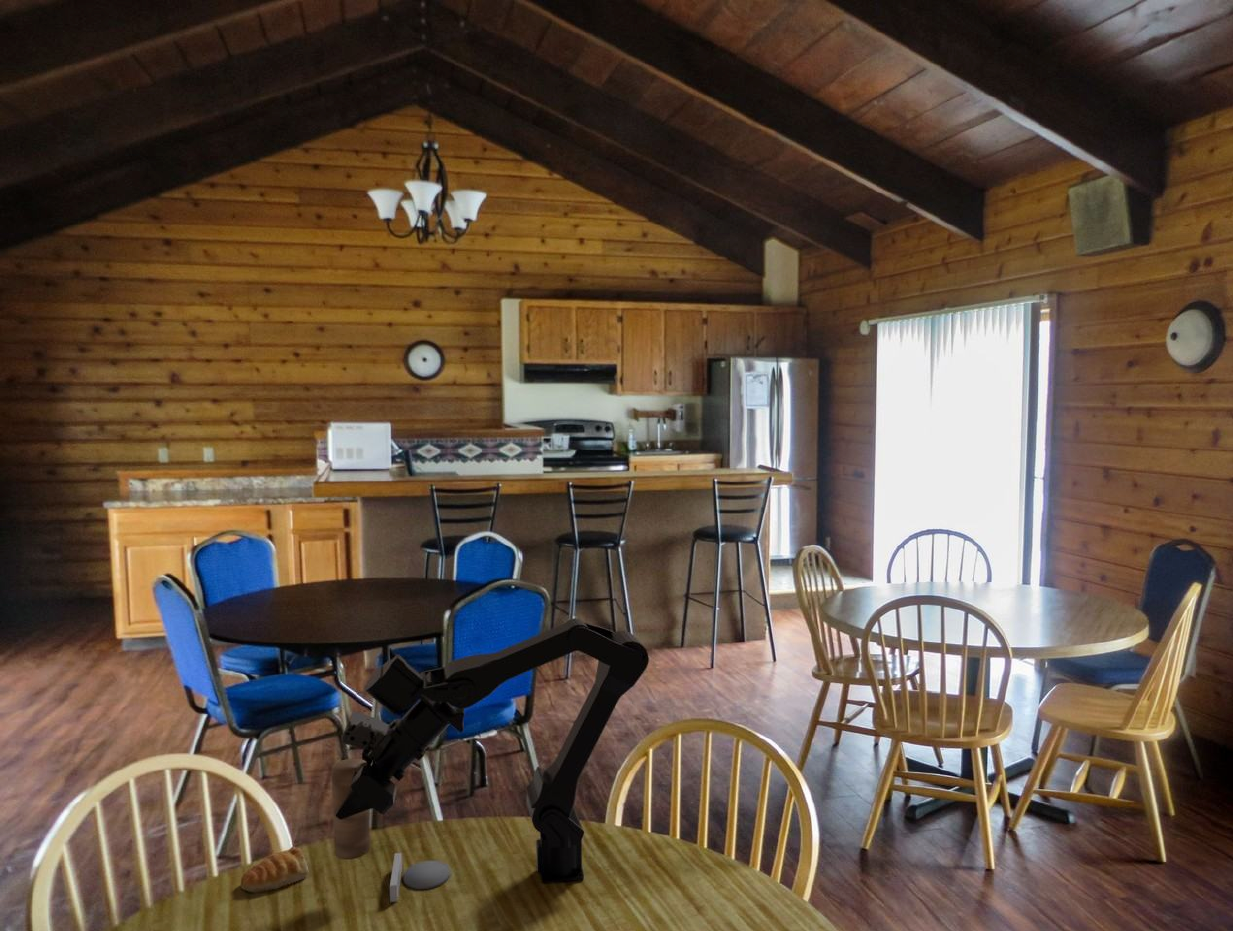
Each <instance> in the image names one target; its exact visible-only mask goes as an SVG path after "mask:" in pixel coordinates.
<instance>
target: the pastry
mask: <svg viewBox="0 0 1233 931" xmlns="http://www.w3.org/2000/svg"><path fill="white" fill-rule="evenodd" d="M308 874H309V867H308V862H307V860H306V858H305V856H304V853H303V851H302V849H300V847H295V846H291V847H290V849H287V850H286V849H285V850H283V851H279V852H278V851H277V852H276V853H271V854H270V855H268V856H267V857H266V858H265V859H263V860H262V861H261V862H259V863H257V864H255V865H253V866H252V867H251V868H249V869H248V870H247V871H246V872H245V873H243V874H242V877H241V881H240V887H241V889H242V890H243V891H247V892H249V893H260V892H264V890H265V891H271V890H272V889H273V890H278V889H280V888H281V886H283V887H285V886H284V885H286V886H288V885H287V884H289V883H292V884H294V883H293V882H295V883H297V882H299V881H298V880H300V881H302V880H304V879H306V878H307V876H308ZM301 879H302V880H301ZM296 881H297V882H296ZM289 885H290V884H289ZM277 888H278V889H277ZM270 889H271V890H270Z"/></svg>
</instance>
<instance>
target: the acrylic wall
mask: <svg viewBox="0 0 1233 931" xmlns="http://www.w3.org/2000/svg"><path fill="white" fill-rule="evenodd" d="M402 868H403V860H402V852H395V853H394V856H393V863H392V868H391V869H392V870H391V877H390V884H389V902H390V903H395V902H398V899H399V893H400V892H399V891H400V884H401V876H402V870H403V869H402Z"/></svg>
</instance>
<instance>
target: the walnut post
mask: <svg viewBox="0 0 1233 931" xmlns="http://www.w3.org/2000/svg"><path fill="white" fill-rule="evenodd" d="M363 766H367V762H366V761H365V760H362V758H347V759H343V760H340V761H337V762H335V763H334V764H333V765H332V766H331V785H332V786H331V789H332V793H331V794H332V817H333V818H332V820H333V842H334V843H333V844H334V845H333V846H334V856H335V857H336V858H338V859H340V860H355V859H358V858H361V857H363V856H365V855H366V854H368V853H369V852H370V849H371V846H370V845H371V843H370V837H371V836H370V813H369V811H370V809H369V810H366V811H363V812H360V813H358V814H355V815H352V816H350V817H347V818H344V819H342V820H340V819H339V818H337V817H336V813H337V811H338V810H339V808H340V807H341V805H342V804H343V802H344V801H345V800H346V798H347V797H348V795H349V794H350V792H351V791H352V788H351V783H352V779H353V776H354V773H355V771H356V772H358V771H359V770H360V769H361V768H362V767H363Z"/></svg>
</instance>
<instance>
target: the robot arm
mask: <svg viewBox="0 0 1233 931" xmlns="http://www.w3.org/2000/svg"><path fill="white" fill-rule="evenodd" d="M575 652H580V653H583V654H584V655H587V656H589V657H591V658H592V659H595V660H596V661H597V669H596V674H595V680H594V684H593V685H592V687H591V689H590V691H589V693H588V695H587V697H586V699H585V701H584V703H583V704H582V707H581V709H580V710H579V712H578V715H577V717H576V719H575V720H574V722H573V723H572V724H573V725H572V726H571V729H570V731H569V733H568V734H567V736H566V738H565V740H564V742H563V744H562V746H561V747H560V749H559V751H558V754H557V756H556V757H555V760H554V761H553V762H552V764H551V765H550V766H548V767H547V768H546V769H543V768H541V767H540V766H537V767H536V769H535V772H534V774H533V777H532V780H530V782H529V784H528V785H527V786H525V791H526V799H525V800H526V806H527V809H528V812H529V815H530V818H531V819H530V820H531V822H532V825H533V827H534V829H535V830H536V831H537V832H539V839H536V840H535V844H536V845H535V850H536V852H535V856H536V858H535V859H536V862H535V864H536V871H537V873H538V874H539V875H540V880H541V883H543V884H547V883H549V884H550V883H558V882H570V881H579V880H583V879H585V874H584V869H583V847H582V846H583V844H582V843H583V838H584V834H585V831H584V828H583V826H582V823H581V820H580V819H579V818H580V817H579V816H578V814H577V811H576V808H575V802H576V801H575V800H576V794H577V788H578V782H579V780H580V778H581V775H582V773H583V771H584V769H585V767H586V766H587V763H588V761H589V759H590V757H591V755H592V754H593V752H594V749H595V747H596V746H597V743H598V742H599V739H600V737H601V735H602V734H603V732H604V729H605V727H606V726H607V724H608V722H609V720H610V718H611V716H612V714H613V712H614V710H615V709H616V706H617V705H618V703H619V700H620V699H621V698H622V696H624V695H625V694H626V693H627V692H629V691H630V689H632V688H633V687H634V686H636V683H637V682H638V681H639V680H640V678H641V677H642V675H643V674H644V672H646V670H647V669H648V665H649V661H650V658H649V654H648V650H647V649H646V647H645V646H644V645H643V643H641V641H640V640H639V639H638V638H637V637H636V636H635V635H634V634H633V633H631V632H630V631H626V630H617V631H612V630H610V629H608V628H605V627H603V626H599V625H594V624H591V623H587V622H585V621H583V620H582V619H580V618H570V619H569V620H567V621H566V622H564V623H563V624H560V625H558V626H556V627H552V628H551V629H549V630H546V631H543V632H541V633H539V634H537V635H534V636H532V637H530V638H527V639H525V640H522V641H520V642H518V643H514V644H512V645H511V646H508V647H506V648H503V649H501V650H498V651H495V652H491V653H482V654H479V653H477V654H472V655H469V656H464V657H460V658H456V659H453V660H451V661H449V662H448V663H447V664H446V665H445V666H444V667H439V668H435V669H430V670H426V671H422V672H421V673H419V672H418V671H417V670H416V669H414V668H413V667H412V666H411V665H410V664H408V663H407V661H406V659H404V657H402V656H401V655H400V654H395V656H394V657H392V658H391V659H389V660H388V661H386V662H385V663H384V664H382V665H380V666H378V668H377V669H376V670H375V671H374V672H373V674H371V676H370V677H369V679H368V680H367V681H366V683H365V685H364V686H363V691H364V692H365V693H366V694H368V696H370V697H371V698H373V699H374V700H375V701H376V702H377V703H378V704H380V705H381V706H382V707H383V708H385V710H387V711H388V712H389V713H391V714H392V715H396V714H398V715H402V714H404V715H403V716H402V718H397V719H396V718H394V719H393V720H392V721H391V722H390V723H389V724H388V723H386V722H383V721H382V720H381V719H379V718H376V717H373V716H371V715H368V714H365V713H362V712H360V711H352V713H351V714H350V717H349V720H348V721H347V725H346V726H345V729H344V731H343V733H342V735H341V738H340V741H341V743H343V744H345V745H347V746H352V747H354V748H357V749H360V750H362V752H361V759H362V760H365V761H366V762H367V766H363V767H362V768H361V769H360V770H359V771H358V772H356V771H355V773H354V776H353V779H352V783H351V788H352V791H351V792H350V794H349V795H348V797H347V798H346V800H345V801H344V802H343V804H342V805H341V807H340V808H339V810H338V811H337V813H336V817H337V818H339V819H340V820H342V819H344V818H347V817H350V816H352V815H355V814H358V813H360V812H363V811H366V810H369V811H370V810H371V809H374V810H375V811H376V812H378V813H379V814H380V815H385V814H386V813H387V812H388V811H389V810H390V809H391V808H392V807H393V806H394V804H395V799H396V796H397V785H396V784H395V783H394V781H392V780H391V779H392V778H393V777H394V778H395V780H397V781H398V782H400V781H401V779H403V778H404V776H405V774H406V770H407V769H408V768H409V767H410V766H411V765H412V764H413V763H414V762H415V761H416V760H417V761H420V760H422V758H423V757H424V755H425V751H426V750H427V749H428V747H430V745H431V744H432V743H434V741H435V740H436V739H437V738H438V737H439V736H441V734H442V733H443V732H444V731H445V730H446V729H447V728H448V727H449V726H451V727H453V728H454V729H455V730H456V731H457V732H459V733H463V732H464V717H465V709H468V708H472V707H473V706H475V705H476V704H477V703H479V702H481V701H482V700H484V699H486V698H487V697H489V696H490V695H491V694H492V693H494V692H495V691H496V690H497V688H499V687H500V686H501V685H502V684H504V683H506V682H507V681H509V680H512V679H513V678H516V677H519V676H520V675H523V674H525V673H527V672H531V671H533V670H535V669H537V668H540V667H541V666H544V665H545V664H548V663H551V662H552V661H553V662H554V661H556V660H558V659H561V658H563V657H566V656H568V655H569V654H573V653H575Z"/></svg>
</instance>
